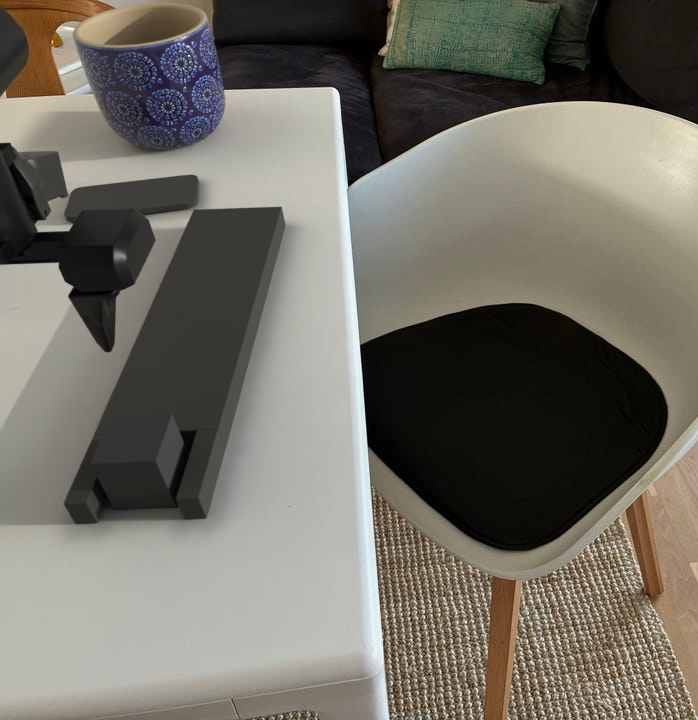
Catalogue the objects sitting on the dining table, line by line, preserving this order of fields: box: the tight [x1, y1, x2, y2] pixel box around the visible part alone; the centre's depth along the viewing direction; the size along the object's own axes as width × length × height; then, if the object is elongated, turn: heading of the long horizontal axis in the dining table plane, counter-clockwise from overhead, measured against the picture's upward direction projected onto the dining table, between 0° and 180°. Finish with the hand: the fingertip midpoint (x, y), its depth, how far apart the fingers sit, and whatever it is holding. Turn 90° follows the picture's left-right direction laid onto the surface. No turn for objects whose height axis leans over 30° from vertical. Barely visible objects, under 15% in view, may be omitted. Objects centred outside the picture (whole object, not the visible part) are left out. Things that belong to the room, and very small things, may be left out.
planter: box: [72, 2, 226, 151], centre depth 103 cm, size 17×17×15 cm
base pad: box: [63, 206, 287, 525], centre depth 74 cm, size 42×10×2 cm, turn 2°
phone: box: [63, 174, 200, 223], centre depth 94 cm, size 7×1×15 cm
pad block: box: [90, 414, 190, 511], centre depth 60 cm, size 5×5×6 cm
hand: (45, 350), depth 56 cm, fingers open, 9 cm apart
